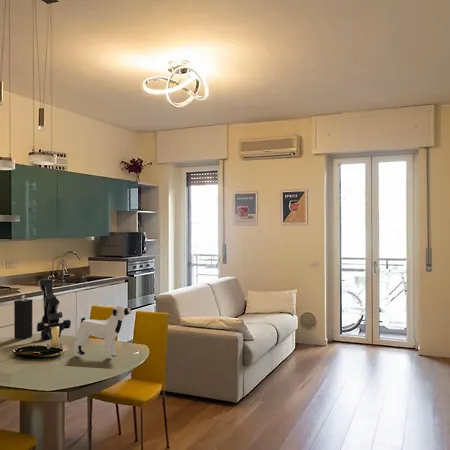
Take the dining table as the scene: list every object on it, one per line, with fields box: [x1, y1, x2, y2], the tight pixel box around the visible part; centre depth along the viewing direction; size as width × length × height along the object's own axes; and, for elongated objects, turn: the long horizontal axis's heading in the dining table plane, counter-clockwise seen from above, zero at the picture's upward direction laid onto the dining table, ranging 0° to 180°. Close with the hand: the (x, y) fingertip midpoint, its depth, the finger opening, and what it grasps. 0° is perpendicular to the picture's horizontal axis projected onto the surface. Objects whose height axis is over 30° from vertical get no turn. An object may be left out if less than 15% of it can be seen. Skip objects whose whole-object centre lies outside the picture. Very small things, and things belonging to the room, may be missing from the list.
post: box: [50, 327, 60, 347], centre depth 271 cm, size 4×4×11 cm
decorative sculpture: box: [73, 305, 132, 360], centre depth 259 cm, size 10×32×30 cm, turn 78°
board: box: [33, 341, 70, 354], centre depth 269 cm, size 26×14×4 cm, turn 112°
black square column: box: [13, 294, 33, 340], centre depth 302 cm, size 8×8×28 cm
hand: (55, 337), depth 270 cm, fingers closed on post, 4 cm apart
